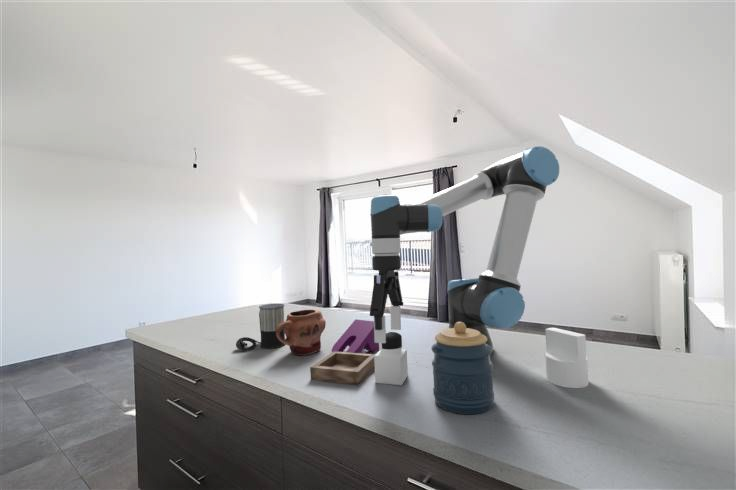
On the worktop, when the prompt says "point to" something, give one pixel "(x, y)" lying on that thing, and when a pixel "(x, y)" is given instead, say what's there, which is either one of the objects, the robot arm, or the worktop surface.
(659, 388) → the worktop surface
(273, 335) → the milk frother
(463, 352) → the canister
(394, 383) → the medicine bottle
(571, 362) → the base with upright slab
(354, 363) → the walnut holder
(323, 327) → the terracotta mug
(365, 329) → the mounting bracket
